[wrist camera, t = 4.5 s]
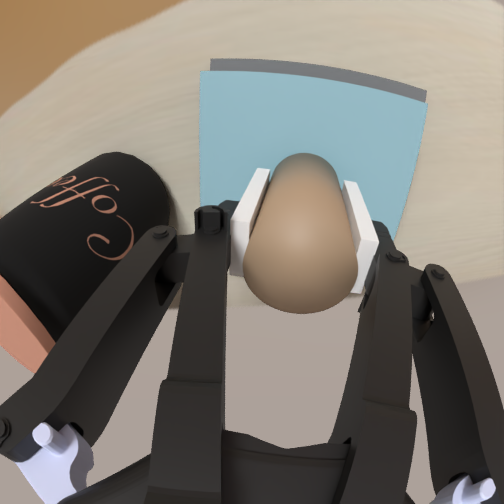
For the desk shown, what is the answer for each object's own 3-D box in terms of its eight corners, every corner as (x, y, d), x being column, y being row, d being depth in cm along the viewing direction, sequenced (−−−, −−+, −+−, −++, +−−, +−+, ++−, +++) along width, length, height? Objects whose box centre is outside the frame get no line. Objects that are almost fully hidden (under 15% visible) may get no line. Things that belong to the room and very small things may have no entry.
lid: (207, 249, 24) (157, 346, 16) (206, 71, 16) (112, 76, 8) (375, 274, 22) (395, 381, 14) (421, 101, 14) (515, 137, 6)
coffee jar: (196, 197, 25) (73, 363, 11) (144, 260, 31) (54, 393, 16) (112, 126, 23) (-56, 223, 8) (77, 200, 28) (-36, 305, 14)
